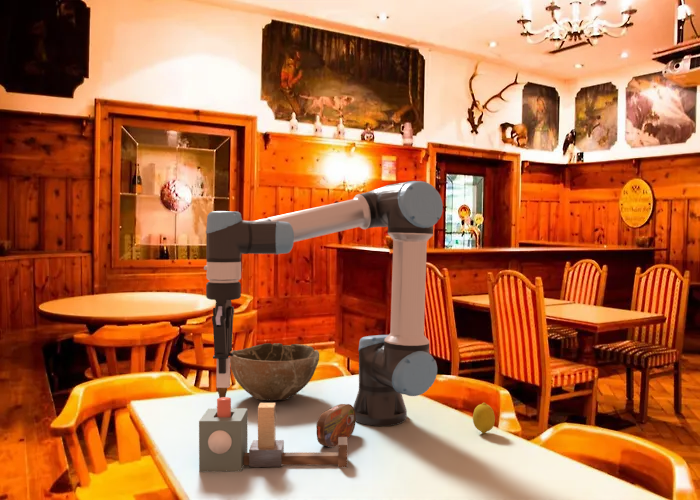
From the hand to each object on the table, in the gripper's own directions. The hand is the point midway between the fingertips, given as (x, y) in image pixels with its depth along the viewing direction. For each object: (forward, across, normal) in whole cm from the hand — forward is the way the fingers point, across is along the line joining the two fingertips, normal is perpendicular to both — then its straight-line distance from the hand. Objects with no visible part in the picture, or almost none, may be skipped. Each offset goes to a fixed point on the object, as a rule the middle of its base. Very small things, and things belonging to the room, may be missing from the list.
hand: (223, 386), depth 131 cm
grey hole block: (+17, 0, 0) cm, 17 cm away
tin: (+17, -14, +25) cm, 34 cm away
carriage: (+17, 0, +10) cm, 20 cm away
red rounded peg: (+11, 0, 0) cm, 11 cm away
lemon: (+17, -19, +63) cm, 68 cm away
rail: (+17, 0, +15) cm, 23 cm away
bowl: (+17, -51, +6) cm, 54 cm away
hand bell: (+18, -19, -4) cm, 26 cm away
